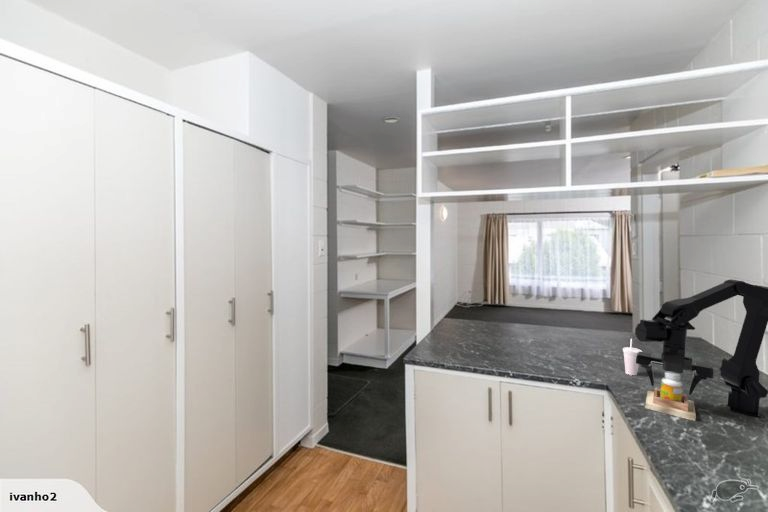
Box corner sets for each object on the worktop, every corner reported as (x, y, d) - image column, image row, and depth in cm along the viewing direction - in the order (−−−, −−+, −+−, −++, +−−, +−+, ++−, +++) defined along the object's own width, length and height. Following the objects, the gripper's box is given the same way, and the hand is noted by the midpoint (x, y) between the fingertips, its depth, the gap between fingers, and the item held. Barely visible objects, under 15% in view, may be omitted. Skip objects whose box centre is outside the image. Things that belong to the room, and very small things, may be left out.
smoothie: (622, 369, 145) (624, 335, 144) (641, 373, 141) (643, 338, 140) (620, 374, 140) (622, 339, 139) (640, 378, 136) (642, 342, 135)
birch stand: (693, 405, 115) (694, 395, 115) (695, 421, 106) (696, 409, 106) (647, 394, 123) (648, 384, 123) (645, 408, 114) (646, 397, 113)
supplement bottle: (655, 398, 117) (657, 369, 116) (672, 398, 117) (674, 369, 116) (668, 406, 112) (670, 376, 111) (685, 406, 112) (688, 376, 111)
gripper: (636, 342, 113) (633, 390, 114) (716, 355, 101) (712, 409, 102) (638, 334, 121) (636, 379, 122) (713, 346, 110) (709, 395, 111)
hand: (670, 390), depth 114 cm, fingers open, 9 cm apart
